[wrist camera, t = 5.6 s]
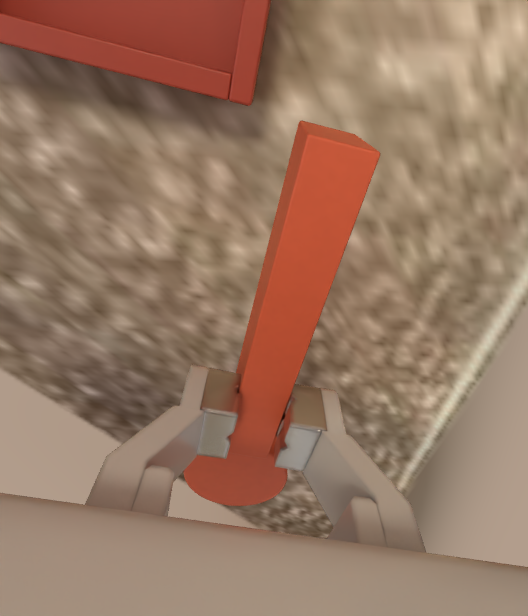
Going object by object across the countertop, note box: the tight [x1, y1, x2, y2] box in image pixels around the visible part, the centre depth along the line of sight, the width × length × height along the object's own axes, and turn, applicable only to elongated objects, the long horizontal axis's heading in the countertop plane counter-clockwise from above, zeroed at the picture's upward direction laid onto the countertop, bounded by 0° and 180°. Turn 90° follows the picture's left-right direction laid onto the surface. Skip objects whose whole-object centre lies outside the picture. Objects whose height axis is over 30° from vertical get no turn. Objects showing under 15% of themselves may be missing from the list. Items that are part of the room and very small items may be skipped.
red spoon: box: [184, 121, 380, 506], centre depth 11 cm, size 13×4×2 cm, turn 167°
